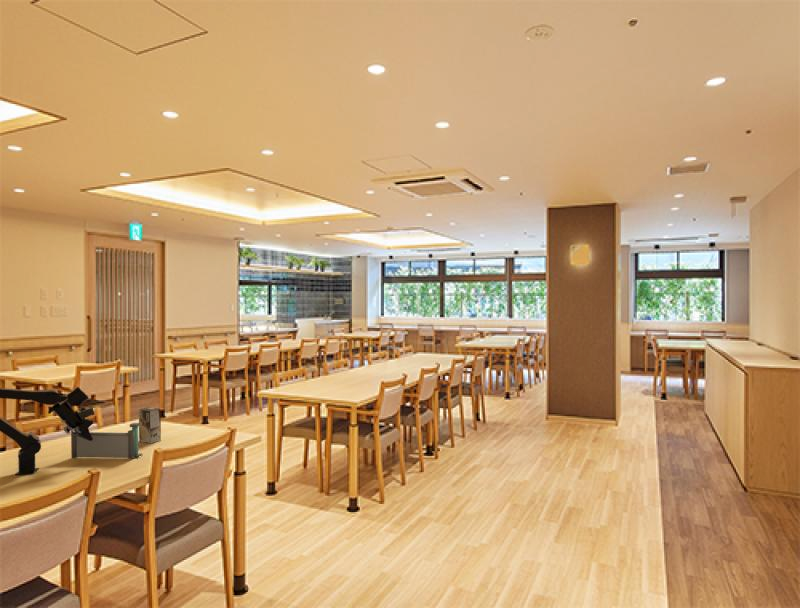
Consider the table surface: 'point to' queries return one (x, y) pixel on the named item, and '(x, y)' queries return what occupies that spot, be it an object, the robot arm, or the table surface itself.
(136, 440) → the post
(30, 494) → the table surface
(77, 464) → the table surface
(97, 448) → the gate
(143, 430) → the coffee box
